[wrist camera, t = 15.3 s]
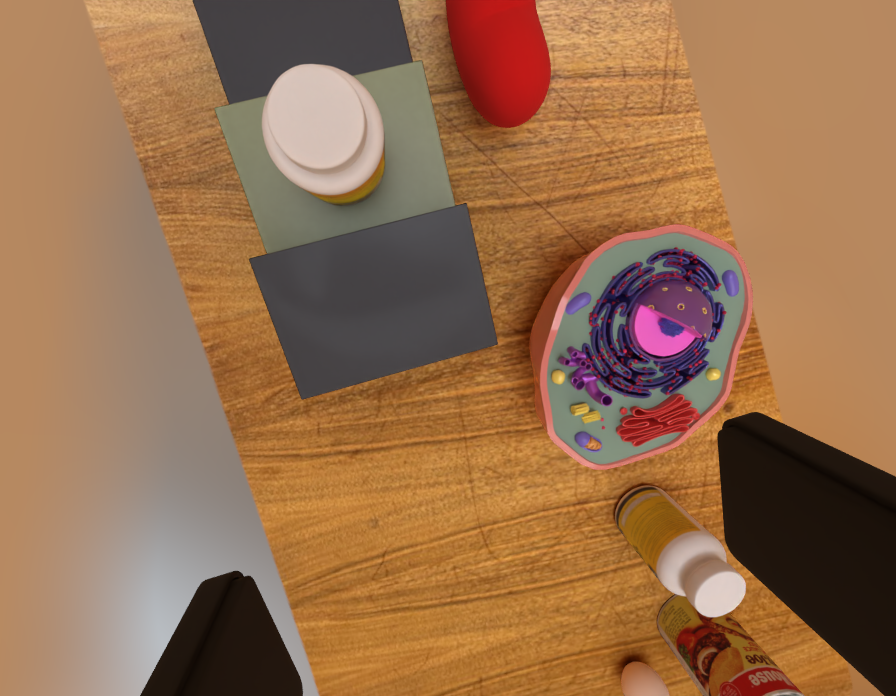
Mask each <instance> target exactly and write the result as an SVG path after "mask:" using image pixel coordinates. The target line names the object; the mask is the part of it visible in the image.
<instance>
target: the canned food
mask: <svg viewBox="0 0 896 696" xmlns="http://www.w3.org/2000/svg"><path fill="white" fill-rule="evenodd" d="M657 625H658V629H659V632H660V634H661V635H662V637H663V638H664V639H665V641H666V642H667V644H668V645H669V647H670V648H671V650H672V651H673V653H674V654H675V655H676V657H677V658H678V660H679V661H680V663H681V664H682V666H683V667H684V669H685V670H686V671H687V673H688V674H689V676H690V677H691V679H692V680H693V682H694V683H695V685H696V686H697V687H698V689H699V690H700V692H701V693H702V695H703V696H804V695H803V694H802V693H801V692H800V690H799V689H798V688H797V687H796V686H795V685H794V684H793V683H792V682H791V681H790V679H789V678H788V677H787V676H786V675H785V674H784V673H783V672H782V671H781V670H780V668H779V667H778V666H777V665H776V664H775V663H774V662H773V661H772V660H771V659H770V657H769V656H768V655H767V654H766V653H765V652H764V651H763V650H762V649H761V648H760V646H759V645H758V644H757V643H756V642H755V641H754V640H753V639H752V638H751V637H750V635H749V634H748V633H747V632H746V631H745V630H744V629H743V628H742V627H741V625H740V624H739V623H738V622H737V621H736V620H735V619H734V618H733V617H732V616H731V614H730V613H727V614H725V615H722V616H719V617H707V616H704V615H702V614H700V613H699V612H698V611H697V610H696V609H695V607H694V606H693V605H692V604H691V603H690V602H689V601H688V599H687V597H686V596H680V595H677V594H676V595H674V596H673V597H671V598H670V599H669V600H668V601H667V602H666V603H665V604H664V606H663V607H662V608H661V610H660V613H659V615H658V620H657Z"/></svg>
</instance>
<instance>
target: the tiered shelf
mask: <svg viewBox="0 0 896 696" xmlns="http://www.w3.org/2000/svg"><path fill="white" fill-rule="evenodd" d="M193 3H194V6H195V8H196V11H197V14H198V17H199V20H200V23H201V25H202V28H203V31H204V34H205V37H206V40H207V42H208V45H209V48H210V51H211V54H212V57H213V59H214V62H215V65H216V68H217V71H218V74H219V76H220V79H221V82H222V85H223V88H224V91H225V93H226V96H227V99H228V102H229V105H225V106H221V107H216V108H215V112H216V115H217V118H218V120H219V123H220V126H221V129H222V131H223V134H224V137H225V140H226V142H227V145H228V148H229V151H230V153H231V156H232V159H233V162H234V164H235V167H236V170H237V173H238V175H239V178H240V181H241V184H242V186H243V189H244V192H245V195H246V197H247V200H248V203H249V206H250V208H251V211H252V214H253V217H254V219H255V222H256V225H257V228H258V230H259V233H260V236H261V239H262V242H263V244H264V247H265V250H266V253H267V254H265V255H262V256H258V257H254V258H250V259H249V261H250V263H251V266H252V269H253V271H254V274H255V277H256V279H257V282H258V285H259V287H260V290H261V293H262V295H263V298H264V301H265V303H266V306H267V309H268V311H269V314H270V317H271V319H272V322H273V325H274V327H275V330H276V333H277V335H278V338H279V341H280V343H281V346H282V349H283V351H284V354H285V356H286V359H287V362H288V364H289V367H290V370H291V372H292V375H293V378H294V380H295V383H296V386H297V388H298V391H299V394H300V396H301V399H306V398H310V397H313V396H317V395H321V394H324V393H328V392H331V391H335V390H338V389H342V388H345V387H349V386H352V385H356V384H360V383H363V382H367V381H370V380H374V379H377V378H381V377H384V376H388V375H391V374H395V373H399V372H402V371H406V370H409V369H413V368H416V367H420V366H423V365H427V364H430V363H434V362H438V361H441V360H445V359H448V358H452V357H455V356H459V355H462V354H466V353H469V352H473V351H477V350H480V349H484V348H487V347H491V346H494V345H497V344H498V342H497V337H496V333H495V328H494V324H493V319H492V315H491V310H490V306H489V301H488V297H487V292H486V288H485V283H484V279H483V274H482V270H481V265H480V261H479V257H478V252H477V248H476V243H475V239H474V234H473V230H472V225H471V221H470V216H469V212H468V207H467V204H466V203H464V204H460V205H455V201H454V197H453V192H452V188H451V184H450V179H449V175H448V171H447V166H446V162H445V158H444V153H443V149H442V145H441V140H440V136H439V132H438V127H437V123H436V119H435V114H434V110H433V106H432V101H431V97H430V93H429V88H428V84H427V80H426V75H425V71H424V67H423V62H422V60H420V61H415V62H413V61H412V57H411V53H410V48H409V44H408V40H407V36H406V31H405V27H404V23H403V19H402V14H401V10H400V6H399V2H398V0H193ZM303 64H317V65H327V66H332V67H335V68H338V69H340V70H342V71H344V72H346V73H348V74H350V75H351V76H353V77H354V78H356V79H357V80H358V81H359V82H360V83H361V84H362V85H363V86H364V87H365V88H366V89H367V90H368V92H369V93H370V94H371V96H372V97H373V99H374V101H375V102H376V104H377V107H378V109H379V112H380V114H381V118H382V122H383V127H384V134H385V169H384V173H383V177H382V180H381V182H380V184H379V186H378V188H377V189H376V190H375V192H374V193H373V194H372V195H371V196H370V197H368V198H367V199H365V200H364V201H362V202H360V203H357V204H354V205H348V206H338V205H334V204H330V203H327V202H325V201H323V200H321V199H319V198H317V197H316V196H314V195H312V194H311V193H309V192H307V191H306V190H304V189H302V188H300V187H299V186H297V185H296V184H294V183H293V182H291V181H290V180H289V179H288V178H287V177H286V176H285V175H284V174H283V173H282V172H281V171H280V170H279V169H278V168H277V166H276V165H275V163H274V162H273V160H272V159H271V157H270V155H269V153H268V150H267V148H266V145H265V142H264V138H263V131H262V113H263V108H264V104H265V101H266V99H267V96H268V94H269V92H270V90H271V88H272V86H273V84H274V83H275V82H276V80H277V79H278V78H279V77H280V76H281V75H282V74H283V73H284V72H286V71H287V70H289V69H291V68H293V67H295V66H298V65H303Z"/></svg>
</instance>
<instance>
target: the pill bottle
mask: <svg viewBox="0 0 896 696" xmlns="http://www.w3.org/2000/svg"><path fill="white" fill-rule="evenodd" d="M615 521H616V524H617V527H618V528H619V530H620V532H621V533H622V534H623V535H624V537H625V538H626V539H627V540H628V542H629V543H630V544H631V545H632V547H633V548H634V549H635V550H636V552H637V553H638V554H639V555H640V557H641V558H642V559H643V560H644V562H645V563H646V564H647V565H648V567H649V568H650V569H651V570H652V572H653V573H654V574H655V576H656V577H657V578H658V579H659V581H660V582H661V583H662V584H663V585H664V586H665V587H666V588H667V589H668V590H669V591H671V592H673V593H675V594H677V595H680V596H686V597H687V599H688V601H689V602H690V603H691V604H692V605H693V606H694V607H695V609H696V610H697V611H698V612H699V613H700V614H702V615H704V616H707V617H719V616H722V615H725V614H727V613H729V612H731V611H732V610H734V609H735V608H736V607H737V606H738V605H739V604H740V602H741V601H742V599H743V597H744V595H745V591H746V584H745V581H744V579H743V577H742V576H741V575H740V574H739V573H738V572H737V571H736V570H735V569H734V568H733V567H732V566H731V565H730V564H728V563H727V562H726V553H725V550H724V548H723V546H722V544H721V543H720V542H719V541H718V539H717V538H716V537H714V536H713V535H712V534H711V533H710V532H709V531H708V530H707V529H706V528H704V527H703V526H702V525H701V524H700V523H699V522H698V521H697V520H696V519H694V518H693V517H692V516H691V515H690V514H689V513H688V512H687V511H686V510H684V509H683V508H682V507H681V506H680V505H679V504H678V503H677V502H676V501H675V500H674V499H672V498H671V497H670V496H669V495H668V494H667V493H666V492H665V491H663V490H662V489H660V488H658V487H655V486H640V487H637V488H634V489H633V490H631V491H629V492H628V493H627V494H625V495H624V496H623V497H622V499H621V500H620V502H619V503H618V505H617V508H616V512H615Z"/></svg>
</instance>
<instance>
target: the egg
mask: <svg viewBox="0 0 896 696" xmlns="http://www.w3.org/2000/svg"><path fill="white" fill-rule="evenodd" d="M621 685H622V690H623V694H624V696H670V695H669V692H668V690H667V687H666V685H665V684H664V682H663V680H662V679H661V677H660V676H659V675H658V673H657V672H656V671H654V670H653V669H652V668H651V667H650V666H648V665H646V664H644V663H641V662H631V663H629V664H627V665H626V666H625V668H624V670H623V672H622V676H621Z"/></svg>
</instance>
